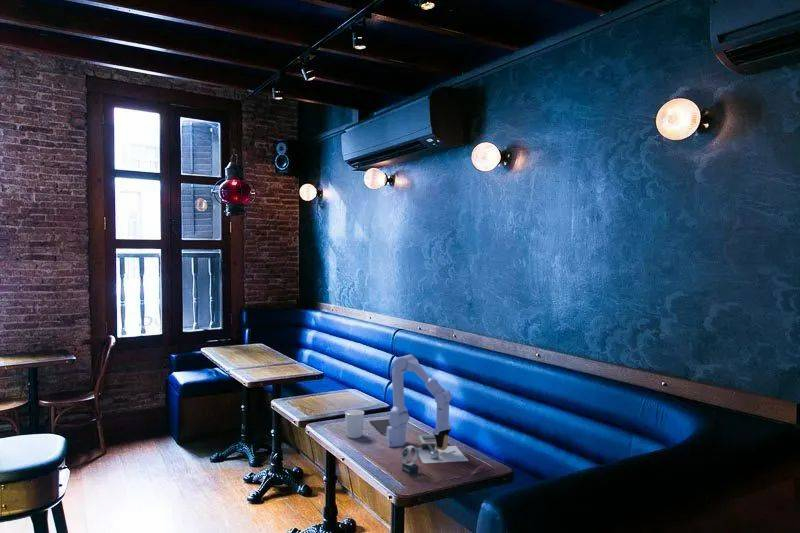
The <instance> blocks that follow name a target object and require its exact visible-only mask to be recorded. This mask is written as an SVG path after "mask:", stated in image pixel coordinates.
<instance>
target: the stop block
mask: <svg viewBox="0 0 800 533" xmlns="http://www.w3.org/2000/svg"><path fill="white" fill-rule="evenodd" d="M448 438H449V435H445V436H444V439H443V445H442V448H440V447H437V443H436V446H435V447H436V449H440V450H445V449H446V448H447V446H448V445H447V443H448V444H449V442H448V441H449V440H448Z"/></svg>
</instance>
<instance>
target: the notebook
mask: <svg viewBox="0 0 800 533" xmlns="http://www.w3.org/2000/svg"><path fill="white" fill-rule="evenodd" d="M369 424H371V426H372V427H373V428H374V429H375V430H376V431H378V432H379V433H380V434H381V435H382V436H387V426H391V425H390V423H389V418H386V419H376V420H369Z"/></svg>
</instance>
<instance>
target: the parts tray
mask: <svg viewBox="0 0 800 533" xmlns="http://www.w3.org/2000/svg"><path fill="white" fill-rule="evenodd" d="M418 439H419V441H420V442H421V445H422V444H428V443H434V444H435V447H436V441H435V442H433V441H432V442H426V440H424V439H435V436H434V434H420V435H418ZM447 446H449V442H448V443H447Z"/></svg>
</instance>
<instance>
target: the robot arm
mask: <svg viewBox="0 0 800 533" xmlns="http://www.w3.org/2000/svg"><path fill="white" fill-rule="evenodd" d="M393 363H394V364H393V367H392V369H391V382H392V385H391V386H392V387H391V388H392V407H391V410H390V413H389V414H390V415H389V417H388V419H389V423H390V425H391V426H387V435H385V436H386V440H385V442H386V444H387V446H388V447H389V448H390V447H391V448H393V447H402V446H404V445H405V444H407V423H409V420H410V414H409V413H408V408H407V407H406V406H405V390H404V373H406V372H413V373H414V374H416V375H417V376H418V377H419V378H420V380H422V381H423V383H424V384H425V385H424V386H425V388H426V389H427V390H428V392H429V393H431V395H432V396H433V398H434V401H435V403H436V419H435V421H436V423H435V424H436V425H435V428H434V430H433V431H432V432H433V433H432V435H434V436H435V438H434V439H435V442H436V443H437V447H440V448H442V445H443V439H444V436H445V435H448V436H449V435H450V433H451V430H452V429H451V428H452V427H451V422H449V421H450V419H449V418H450V402H451V400H452V398H453V397H452V394H451V393H452V392H450V390H448V389H445V388H444V387H443V386H442V385H441V384H440V383H439V380H438V379H435V378H432V377H430V375H429V373H427V372H426V370H425V369H424V368H423V367H422V366H421V364H420V363H419V360H418V359H417V358H416V357H415V356H414V355H413V354H410V353H409V354H407V355H404V356H399V357H397V358H396V359H395V360H394V361H393Z"/></svg>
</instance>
